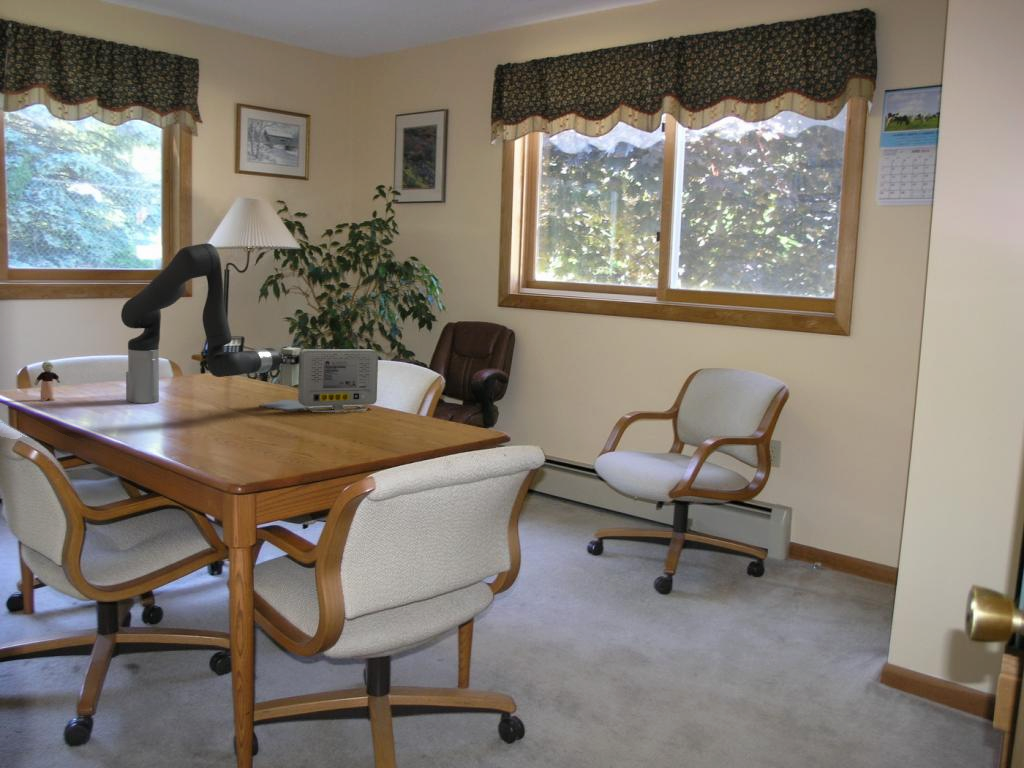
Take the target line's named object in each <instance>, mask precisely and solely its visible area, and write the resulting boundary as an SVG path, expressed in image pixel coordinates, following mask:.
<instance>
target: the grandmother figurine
mask: <svg viewBox="0 0 1024 768" xmlns="http://www.w3.org/2000/svg"><path fill="white" fill-rule="evenodd" d="M54 367H55V366H54V363H52V362H51V361H48V360H46V361H43V362H42V364H41V368H42V370H43V371H42V372H40V374H38V376H37V377H36V379H35V382H34V386H38V385H39V382H40V381H41V385H40V397H39V398H40V399H39V402H47V401H48V402H49V401H51V402H52V401H55V400H56V399H55V398H54V380H56V383H57V384H59V383H61V380H60V378H59V375H58V374H57V373H55V372H53V371H52V370H53V368H54Z"/></svg>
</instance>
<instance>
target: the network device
mask: <svg viewBox="0 0 1024 768" xmlns="http://www.w3.org/2000/svg"><path fill="white" fill-rule="evenodd" d="M378 367H379V353H378V352H377V351H376V350H373V349H371V348H370V349H368V348H367V349H359V348H358V349H356V348H355V349H354V348H353V349H351V348H349V349H345V348H343V349H339V348H337V349H334V348H333V349H329V348H328V349H326V348H325V349H324V348H323V349H320V348H319V349H315V348H314V349H313V348H312V349H309V348H308V349H306V348H305V349H301V351H300V352H299V383H298V384H297V385H298V386H297V387H298V390H297V391H298V393H297V396H298V397H297V398H298V399H297V401H299V403H300V404H302V405H303V406H314V407H309V408H308V409H309V410H310V411H309V410H308V409H307V410H308V411H309V412H311V411H312V412H311V413H314V412H335V413H337V412H336V411H363V410H367V411H368V408H367V407H366V406H365V405H375V404H376V403H377V400H378V371H379V368H378ZM343 407H355V409H354V408H353V409H347V408H343ZM357 407H360V408H357ZM313 408H323V409H325V410H318V409H313ZM330 408H333V409H334V410H333V409H330ZM356 408H357V409H356ZM361 408H362V409H361ZM326 409H327V410H326ZM363 412H364V411H363Z"/></svg>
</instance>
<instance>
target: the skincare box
mask: <svg viewBox="0 0 1024 768" xmlns="http://www.w3.org/2000/svg"><path fill="white" fill-rule="evenodd" d="M301 350H302V349H301V347H290V346H287V347H284V348H281V349H280V353H284V354H292V355H295V354H296V355H299V352H300V351H301ZM287 359H288V356H287ZM279 373H280V375H279V376H280V377H279V378H280V379H279V385H280V386H288V387H289V386H291V387H293V386H296V385H298V383H299V363H298V364H294V365H291V364H285V365H280V372H279Z"/></svg>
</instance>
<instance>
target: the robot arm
mask: <svg viewBox="0 0 1024 768" xmlns="http://www.w3.org/2000/svg"><path fill="white" fill-rule="evenodd" d="M222 271H223V269H222V263H221V258H220V254H219V251H218V249H217V248H216V246H214V244H211V243H207V242H205V243H199V244H195V245H193V244H192V245H188V246H185V247H182V248H181V249H179V250H178V251H177V253H176V254H175V255H174V256H173V258H172V260H171V261H170V263H169V264H168V265H167V266H166V267H165V268H164V269H163V270H161V272H160V273H159V274H158V275H156V276H155V277H154V278H153V280H151V281H150V283H148V284H147V286H145V287H144V288H143V289H142V290H140V292H139V293H138V294H136V295H133V297H131V298H129V299H127V301H126V302H125V303H124V304H123V305H122V309H121V312H120V315H121V316H120V317H121V321H122V323H123V325H124V326H126V327H127V328H128V329H143V332H141V334H139V335H138V336H136V337H133V338H131V339H130V340H128V342H127V359H128V360H127V362H128V363H127V364H128V370H127V371H126V373H125V394H126V397H125V398H126V401H127V402H129V403H132V402H133V404H151V403H158V402H160V373H159V372H160V369H159V368H160V365H159V361H160V358H159V355H160V354H159V347H160V340H161V322H162V321H161V320H162V319H161V318H162V313H161V312H162V311H161V310H162V309H165V308H168V307H170V306H172V305H173V304H175V303H176V302H178V301H179V300H180V299H181V298H182V297H183V295H184V294H185V292H186V287H187V286H186V282H187V281H190V280H193V279H197V278H202V277H206V280H207V293H206V295H207V296H206V300H205V303H204V307H203V309H202V310H203V311H202V319H201V320H202V325H203V329H204V332H205V337H206V343H207V344H206V366H207V370H208V371H209V373H210V374H211V375H212V376H213V377H217V378H222V377H233V376H240V375H244V374H245V375H246V374H247V375H248V374H254V373H255V374H262V373H269V372H270V373H271V372H274V371H276V370H277V369H279V368H280V367H281V365H285V364H291V365H294V364H298V363H299V355H296V354H295V355H292V354H284V353H281V352H280V351H278V350H277V349H275V348H272V347H267V348H264V347H263V348H256V349H252V350H243V351H233V352H232V351H231V352H224V348H225V347H224V346H226V345H229V344H230V343H231V342H232V341H233V340H232V333H231V330H230V329H231V328H230V326H229V325H230V324H229V321H228V316H227V311H226V305H225V295H224V294H225V293H224V283H223V282H224V281H223V272H222ZM287 356H288V359H287Z"/></svg>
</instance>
